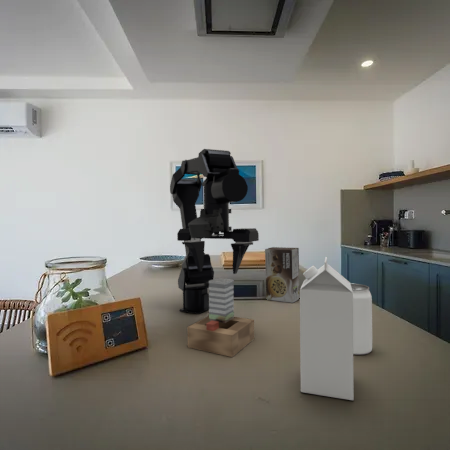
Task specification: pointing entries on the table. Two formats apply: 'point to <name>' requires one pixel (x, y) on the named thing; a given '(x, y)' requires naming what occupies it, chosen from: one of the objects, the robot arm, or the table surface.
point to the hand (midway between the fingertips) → (217, 272)
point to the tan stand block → (221, 335)
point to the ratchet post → (221, 300)
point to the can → (362, 319)
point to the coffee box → (282, 274)
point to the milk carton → (326, 333)
